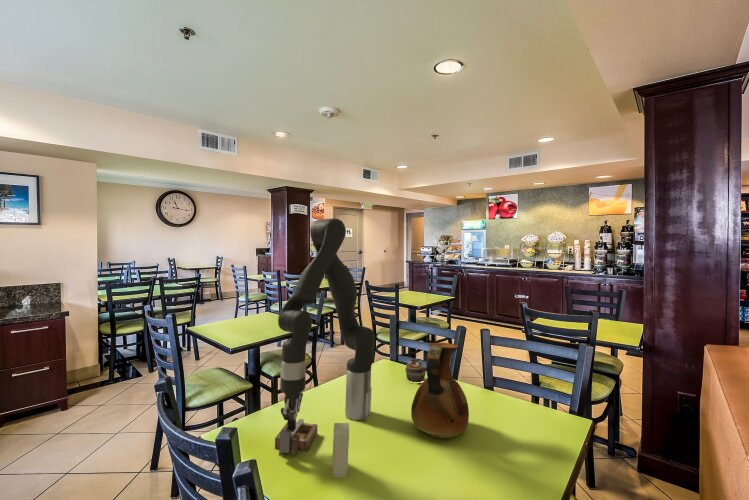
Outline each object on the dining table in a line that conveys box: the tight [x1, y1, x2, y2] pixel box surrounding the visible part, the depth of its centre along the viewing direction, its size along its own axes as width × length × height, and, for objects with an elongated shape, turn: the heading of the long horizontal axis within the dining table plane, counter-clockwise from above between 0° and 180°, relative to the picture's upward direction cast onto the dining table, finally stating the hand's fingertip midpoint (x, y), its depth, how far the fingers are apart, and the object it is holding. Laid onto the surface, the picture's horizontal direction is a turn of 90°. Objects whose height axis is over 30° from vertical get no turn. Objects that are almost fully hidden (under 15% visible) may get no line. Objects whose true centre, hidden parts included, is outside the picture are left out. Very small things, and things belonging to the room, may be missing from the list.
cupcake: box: [405, 357, 427, 382], centre depth 166 cm, size 10×10×10 cm
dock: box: [274, 421, 318, 458], centre depth 111 cm, size 10×13×5 cm
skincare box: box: [331, 422, 350, 478], centre depth 99 cm, size 6×4×12 cm
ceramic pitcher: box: [410, 342, 470, 439], centre depth 122 cm, size 20×20×30 cm
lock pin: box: [279, 418, 305, 454], centre depth 109 cm, size 3×15×6 cm, turn 172°
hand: (291, 430), depth 108 cm, fingers closed
